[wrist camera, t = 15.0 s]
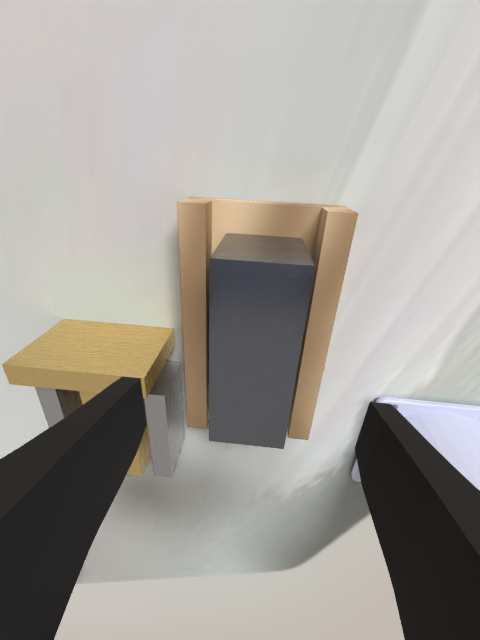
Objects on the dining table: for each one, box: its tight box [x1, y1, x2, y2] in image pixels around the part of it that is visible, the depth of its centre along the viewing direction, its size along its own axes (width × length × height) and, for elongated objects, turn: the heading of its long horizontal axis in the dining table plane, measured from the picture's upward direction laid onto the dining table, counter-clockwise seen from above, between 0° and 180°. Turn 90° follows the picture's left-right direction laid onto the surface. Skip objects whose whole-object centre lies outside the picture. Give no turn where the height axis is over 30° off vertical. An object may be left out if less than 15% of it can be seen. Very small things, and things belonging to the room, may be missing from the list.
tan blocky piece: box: [2, 319, 175, 477], centre depth 19 cm, size 7×10×5 cm
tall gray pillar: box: [209, 233, 315, 449], centre depth 15 cm, size 4×11×4 cm, turn 177°
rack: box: [177, 197, 358, 440], centre depth 16 cm, size 7×13×2 cm, turn 177°
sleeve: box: [35, 361, 184, 477], centre depth 20 cm, size 8×7×3 cm
